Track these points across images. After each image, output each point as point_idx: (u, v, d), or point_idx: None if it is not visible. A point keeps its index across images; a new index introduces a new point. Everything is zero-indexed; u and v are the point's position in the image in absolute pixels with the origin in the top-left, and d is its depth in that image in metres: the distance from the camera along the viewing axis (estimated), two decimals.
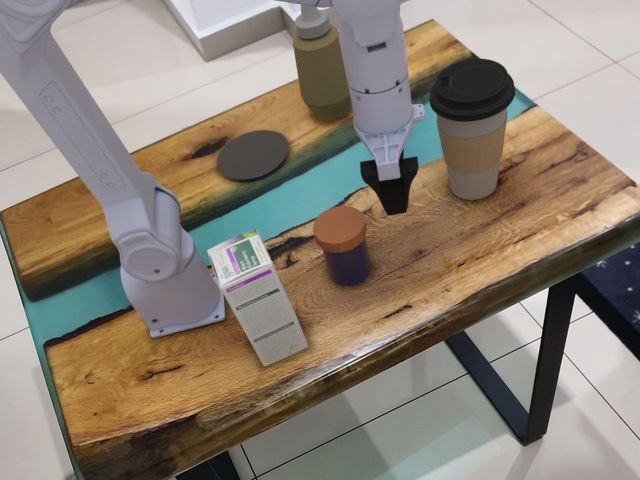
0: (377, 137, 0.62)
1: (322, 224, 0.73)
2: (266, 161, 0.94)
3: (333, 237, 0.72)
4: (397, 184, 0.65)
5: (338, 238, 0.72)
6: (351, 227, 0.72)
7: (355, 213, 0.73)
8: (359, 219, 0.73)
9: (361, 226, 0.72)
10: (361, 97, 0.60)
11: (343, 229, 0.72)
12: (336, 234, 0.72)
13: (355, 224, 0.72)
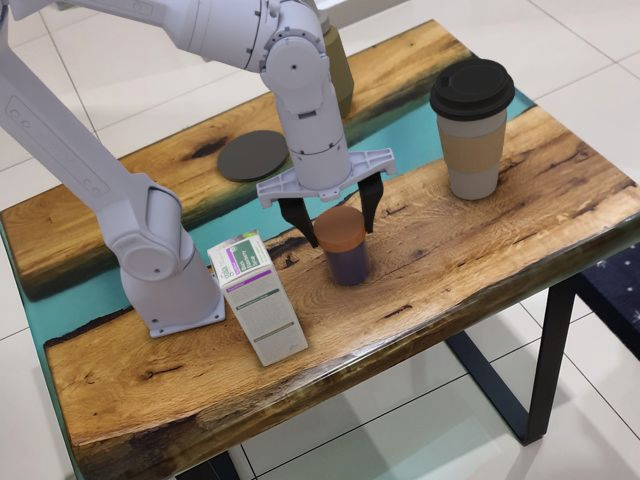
0: (296, 175, 0.68)
1: (322, 224, 0.73)
2: (266, 161, 0.94)
3: (333, 237, 0.72)
4: None
5: (338, 238, 0.72)
6: (351, 227, 0.72)
7: (355, 213, 0.73)
8: (359, 219, 0.73)
9: (361, 226, 0.72)
10: None
11: (343, 229, 0.72)
12: (336, 234, 0.72)
13: (355, 224, 0.72)
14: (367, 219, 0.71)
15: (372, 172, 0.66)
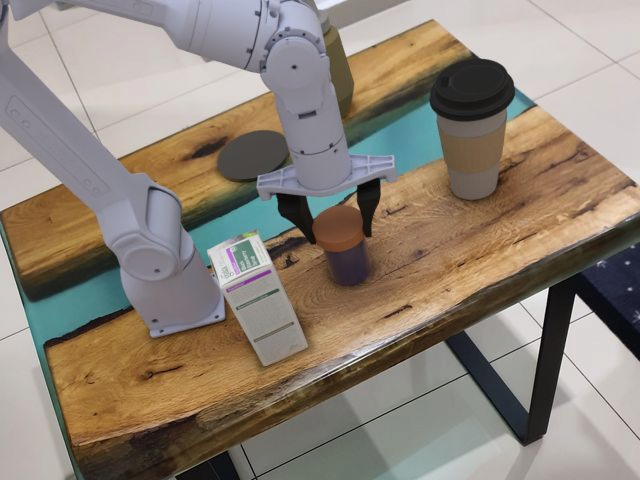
0: (352, 173, 0.66)
1: (353, 225, 0.72)
2: (266, 161, 0.94)
3: (346, 210, 0.74)
4: None
5: (341, 209, 0.74)
6: (326, 217, 0.73)
7: (318, 231, 0.72)
8: (317, 224, 0.73)
9: (317, 217, 0.74)
10: (339, 146, 0.62)
11: (334, 217, 0.73)
12: (342, 213, 0.73)
13: (322, 220, 0.73)
14: None
15: None
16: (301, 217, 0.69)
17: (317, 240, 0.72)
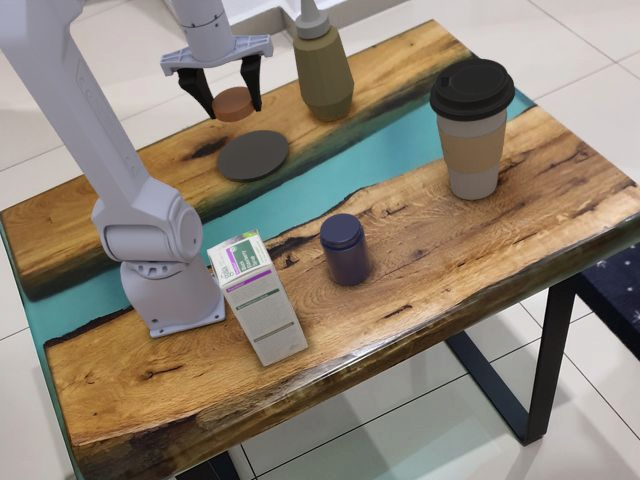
0: (236, 49, 0.81)
1: (244, 100, 0.87)
2: (266, 161, 0.94)
3: (240, 90, 0.89)
4: None
5: (237, 89, 0.89)
6: (224, 96, 0.89)
7: (216, 106, 0.88)
8: (215, 101, 0.88)
9: (217, 96, 0.89)
10: (219, 21, 0.78)
11: (230, 95, 0.89)
12: (237, 92, 0.89)
13: (220, 98, 0.89)
14: None
15: None
16: (198, 90, 0.85)
17: (215, 113, 0.88)
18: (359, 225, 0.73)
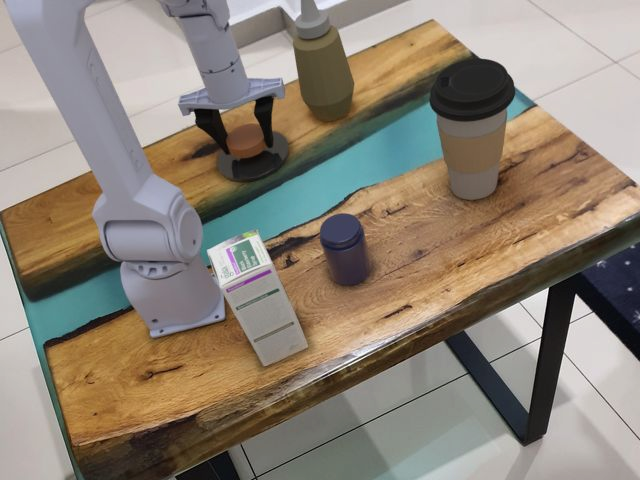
0: (250, 91, 0.86)
1: (257, 137, 0.92)
2: (266, 161, 0.94)
3: (253, 127, 0.94)
4: None
5: (250, 126, 0.94)
6: (237, 132, 0.94)
7: (230, 142, 0.93)
8: (229, 137, 0.93)
9: (230, 133, 0.94)
10: (235, 67, 0.83)
11: (244, 132, 0.94)
12: (250, 129, 0.94)
13: (234, 134, 0.94)
14: None
15: None
16: (214, 128, 0.89)
17: (229, 149, 0.93)
18: (359, 225, 0.73)
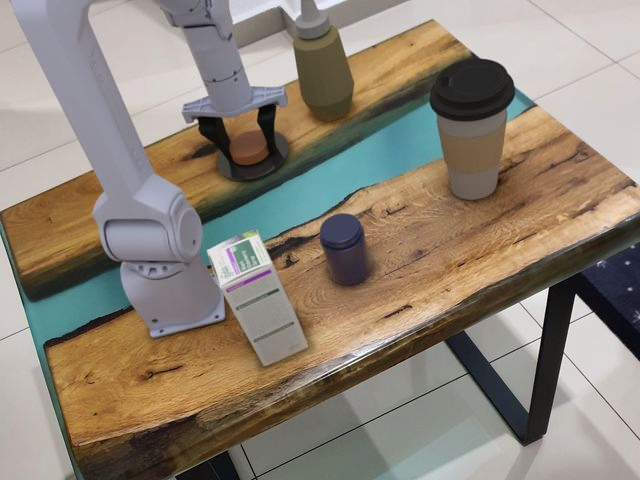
0: (253, 99, 0.87)
1: (259, 144, 0.93)
2: (266, 161, 0.94)
3: (255, 134, 0.95)
4: None
5: (252, 133, 0.95)
6: (240, 139, 0.95)
7: (233, 149, 0.94)
8: (232, 144, 0.94)
9: (233, 140, 0.95)
10: (238, 76, 0.84)
11: (246, 139, 0.95)
12: (252, 136, 0.95)
13: (237, 141, 0.95)
14: None
15: None
16: (217, 136, 0.90)
17: (232, 156, 0.94)
18: (359, 225, 0.73)
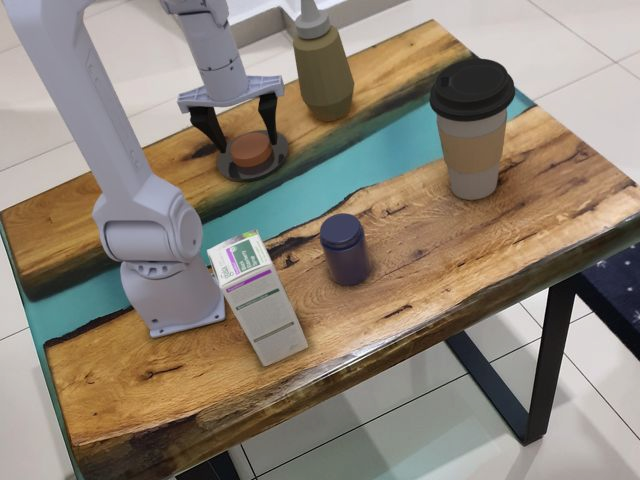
0: (249, 89, 0.86)
1: (260, 146, 0.93)
2: (266, 161, 0.94)
3: (256, 136, 0.95)
4: None
5: (253, 135, 0.95)
6: (241, 142, 0.95)
7: (234, 151, 0.94)
8: (233, 147, 0.95)
9: (234, 142, 0.95)
10: (234, 65, 0.82)
11: (247, 141, 0.95)
12: (253, 138, 0.95)
13: (238, 143, 0.95)
14: None
15: None
16: (209, 127, 0.89)
17: (233, 158, 0.94)
18: (359, 225, 0.73)
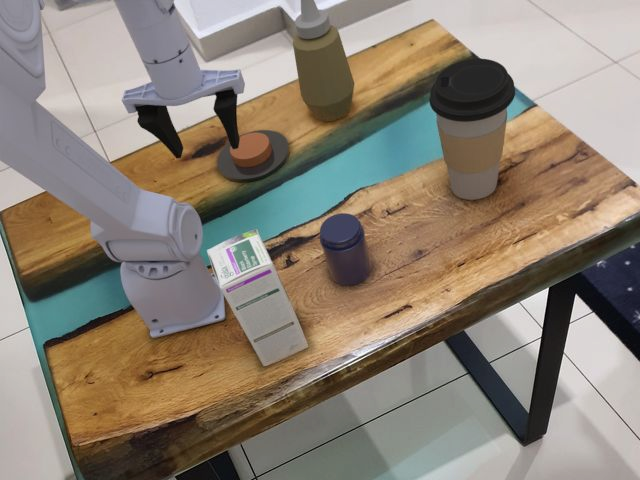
0: (203, 85, 0.75)
1: (260, 146, 0.93)
2: (266, 161, 0.94)
3: (256, 136, 0.95)
4: None
5: (253, 135, 0.95)
6: (241, 142, 0.95)
7: (234, 151, 0.94)
8: None
9: None
10: (183, 57, 0.71)
11: (247, 141, 0.95)
12: (253, 138, 0.95)
13: None
14: None
15: None
16: (159, 128, 0.78)
17: (233, 158, 0.94)
18: (359, 225, 0.73)
